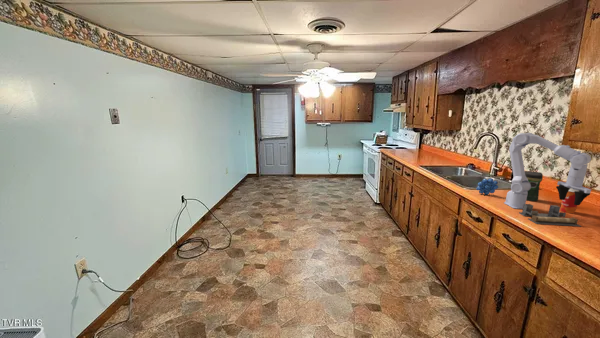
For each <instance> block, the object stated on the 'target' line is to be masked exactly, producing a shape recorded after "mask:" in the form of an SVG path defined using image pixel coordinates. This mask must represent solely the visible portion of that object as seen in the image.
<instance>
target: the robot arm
mask: <svg viewBox="0 0 600 338" xmlns="http://www.w3.org/2000/svg"><path fill="white" fill-rule="evenodd" d="M530 144H534V145H535V144H536V145H539V146H542V147H543V148H546V149H548V150H551V151H553V153H554V155H556V156H558V157H559V158H562V159H564V160H566V161H569V162H570V167H569V170H568V173H567V174H568V175H567V176H566V177H567V178H566V181H560V180H559V181H557V184H556V185H557V186H555V187H556V189H557V192H558V193H557V194H558V199H559V200H561V201H562V200H565V198H566V195H567V192H568V191H569V189H570V188H571V189H575V190H578V191H574V193H575V201H574V205H577V206H580V205H581V204H582V202H583V201H584V200H585V199H586V198H587V197H589V196H590V195H591V192H592V189H591V188H588V187H585V186H584V185H583V184H584V182H585V181H584V180H585V178H586V174H587V169H588V166H589V163H590V162H591V160H592V157H591V155H589V154H588V153H586V152H585V153H584V152H582V151H581V150H576V149H574V148H571V146H570V145H569V144H567V145H565V144H562V145H558V144H557V143H555V142H552V141H550V140H548V139H546V138H544V137H542V136H540V135H538V134H534V133H532V132H524V133H523V132H520V133H517V134H516V135H515V136H514V137H512V141H511V142H510V145H509V148H508V149H509V157H510V163H511V169H512V170H511V171H512V175H513V178H512V180H511V185H510V190H509V191H507V193H506V198H505V201H504V202H503V204H504V205H507V206H509V207H510V208H512V209H517V210H518V209H519V210H523V206H524V204H527V200H526V199H527V195H528V192H527V191H528V190H530V188H531V184H530V183H529V182H528V179H527V177H526V176H525V171H526V170H525V165H524V158H523V152H522V150H523V149H524V148H525V147H526V146H527V145H530Z"/></svg>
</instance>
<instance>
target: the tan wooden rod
mask: <svg viewBox="0 0 600 338" xmlns="http://www.w3.org/2000/svg"><path fill="white" fill-rule="evenodd" d="M531 219H532V220H533V221H535V222H537V221H544V222H561V223H573V224H578V221H579V219H578V218H575V217H561V218H556V217H538V216H535V215H533V216H532V217H531Z"/></svg>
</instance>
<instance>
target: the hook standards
mask: <svg viewBox="0 0 600 338" xmlns="http://www.w3.org/2000/svg"><path fill="white" fill-rule="evenodd" d="M533 209H534V205H533V204H531V203H526V204H524V206H523V209H522V211H519V212H518V214H520V215H521V216H523V217H531V218H532V216H533V215H535V216H538V217H556V218H566V214H567V213H566V212H563V211H561V206H558V205H553V204H552V205H551V204H550V206H549V207H548V209H549V210H548V212H547V213H542V212H541V213H539V211H538V210H533ZM560 211H561V212H560Z"/></svg>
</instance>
